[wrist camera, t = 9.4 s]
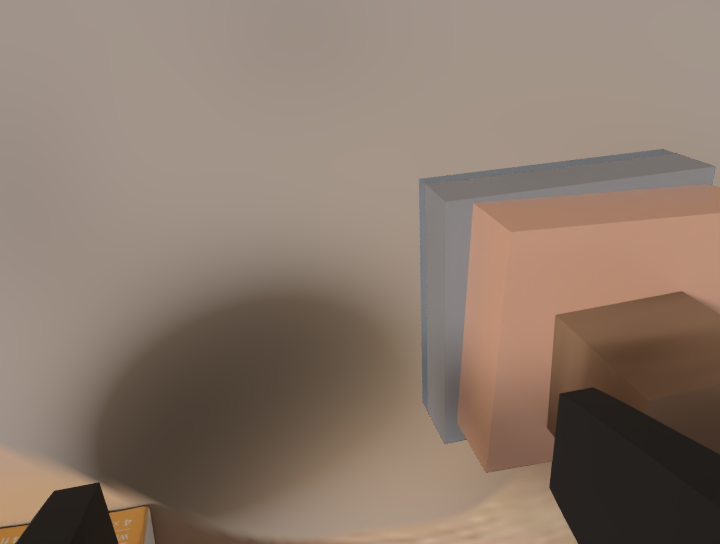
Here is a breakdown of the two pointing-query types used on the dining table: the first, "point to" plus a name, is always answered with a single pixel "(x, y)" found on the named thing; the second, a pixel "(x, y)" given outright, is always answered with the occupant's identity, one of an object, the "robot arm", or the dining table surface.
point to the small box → (127, 524)
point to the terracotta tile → (566, 294)
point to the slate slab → (453, 234)
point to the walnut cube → (645, 361)
